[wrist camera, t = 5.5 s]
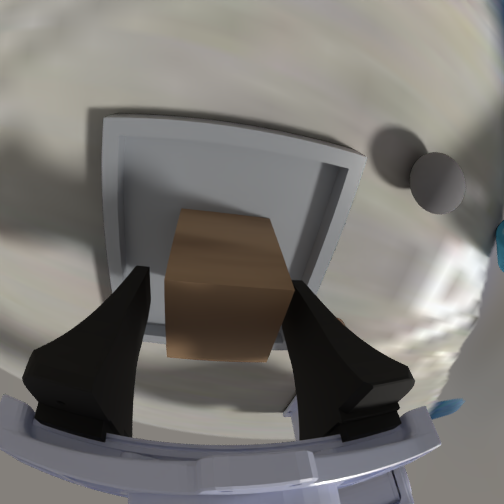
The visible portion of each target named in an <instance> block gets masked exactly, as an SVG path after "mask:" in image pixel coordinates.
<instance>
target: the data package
mask: <svg viewBox="0 0 504 504" xmlns="http://www.w3.org/2000/svg"><path fill="white" fill-rule="evenodd" d="M496 243H497V255H498V265H499V267H500V268H501V270H502V271H503V272H504V220H503V221H502V222H501V223H500V225H499V226H498V228H497V230H496Z"/></svg>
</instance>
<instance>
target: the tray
mask: <svg viewBox="0 0 504 504" xmlns="http://www.w3.org/2000/svg"><path fill="white" fill-rule="evenodd" d="M367 158H368V157H366V156H365V155H363V154H361V153H360V152H358V151H356V150H354V149H351V148H348V147H344V146H341V145H337V144H333V143H330V142H326V141H322V140H318V139H314V138H310V137H306V136H301V135H297V134H293V133H288V132H283V131H278V130H273V129H268V128H263V127H257V126H252V125H246V124H239V123H233V122H226V121H218V120H210V119H202V118H192V117H181V116H169V115H152V114H112V115H109V116H107V117H104V119H103V135H102V202H103V219H104V232H105V243H106V252H107V261H108V268H109V276H110V282H111V289H112V293H113V292H114V291H115V290H116V289H117V288H118V287H119V285H120V284H121V283H122V282H123V281H124V280H125V278H126V277H127V276H128V275H129V274H130V272H131V271H132V270H133V269H134V267H136V266H137V265H138V266H147V267H150V288H151V304H150V311H149V317H148V321H147V325H146V329H145V333H144V337H143V340H142V341H143V342H152V343H160V344H166V331H165V302H164V278H165V273H166V269H167V264H168V260H169V256H170V251H171V247H172V243H173V239H174V235H175V231H176V227H177V223H178V219H179V215H180V211H181V208H183V209H192V210H202V211H211V212H220V213H229V214H237V215H246V216H254V217H262V218H269V219H270V221H271V223H272V226H273V229H274V232H275V235H276V237H277V240H278V243H279V246H280V249H281V252H282V254H283V257H284V260H285V263H286V266H287V269H288V272H289V275H290V278H291V280H302V281H303V282H304V283H305V284H306V285H307V286H308V287H309V288H310V289H311V291H312V292H313V293H314V294H315V295H316V294H317V292H318V289H319V287H320V285H321V282H322V280H323V278H324V275H325V273H326V271H327V268H328V266H329V263H330V261H331V258H332V256H333V253H334V251H335V248H336V246H337V243H338V241H339V238H340V235H341V233H342V230H343V228H344V225H345V222H346V219H347V217H348V214H349V211H350V209H351V206H352V203H353V200H354V197H355V194H356V191H357V189H358V186H359V183H360V180H361V177H362V174H363V171H364V167H365V164H366V161H367ZM272 350H288V349H287V346H286V342H285V338H284V334H283V330H282V325H281V327H280V330H279V333H278V335H277V338H276V340H275V342H274V345H273V347H272Z"/></svg>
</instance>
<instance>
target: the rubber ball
mask: <svg viewBox="0 0 504 504" xmlns="http://www.w3.org/2000/svg"><path fill="white" fill-rule="evenodd" d="M410 188H411V192H412V195H413V197H414V198H415V200H416V201H417V203H418V204H419V205H420V206H421V207H422V208H423V209H425V210H426V211H428V212H431V213H434V214H446V213H449V212H451V211H453V210H455V209H456V208H457V207H458V206H459V205H460V203H461V202H462V200H463V198H464V195H465V188H466V183H465V177H464V174H463V171H462V170H461V168H460V166H459V165H458V164H457V162H456V161H455V160H454V159H452V158H451V157H449V156H448V155H445V154H443V153H438V152H432V153H428V154H425V155H423V156H422V157H420V158H419V159H418V160H417V161H416V162H415V164H414V165H413V167H412V170H411V173H410Z"/></svg>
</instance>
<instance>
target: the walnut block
mask: <svg viewBox="0 0 504 504" xmlns="http://www.w3.org/2000/svg"><path fill="white" fill-rule="evenodd" d="M294 291H295V289H294V286H293V283H292V280H291V278H290V275H289V272H288V269H287V266H286V263H285V260H284V257H283V254H282V252H281V249H280V246H279V243H278V240H277V237H276V235H275V232H274V229H273V226H272V223H271V221H270V219H269V218H262V217H254V216H246V215H237V214H229V213H220V212H211V211H202V210H192V209H183V208H181V211H180V215H179V219H178V223H177V227H176V231H175V235H174V239H173V243H172V247H171V251H170V256H169V260H168V264H167V269H166V273H165V278H164V302H165V331H166V350H167V357H170V358H181V359H193V360H208V361H227V362H267V360H268V357H269V355H270V352H271V350H272V347H273V345H274V342H275V340H276V338H277V335H278V333H279V330H280V327H281V325H282V322H283V320H284V317H285V315H286V312H287V310H288V307H289V304H290V302H291V299H292V296H293V294H294Z"/></svg>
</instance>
